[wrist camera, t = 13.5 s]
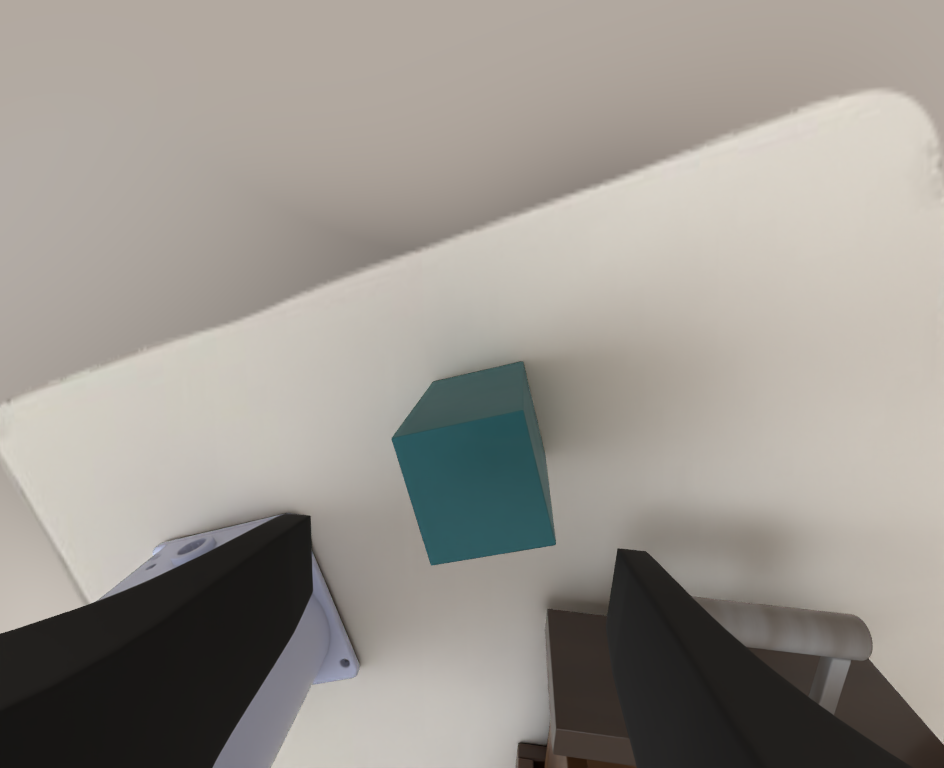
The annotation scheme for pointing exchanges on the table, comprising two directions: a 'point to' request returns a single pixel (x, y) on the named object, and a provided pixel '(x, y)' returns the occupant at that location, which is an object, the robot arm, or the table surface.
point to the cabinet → (530, 756)
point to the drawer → (766, 635)
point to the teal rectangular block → (477, 466)
